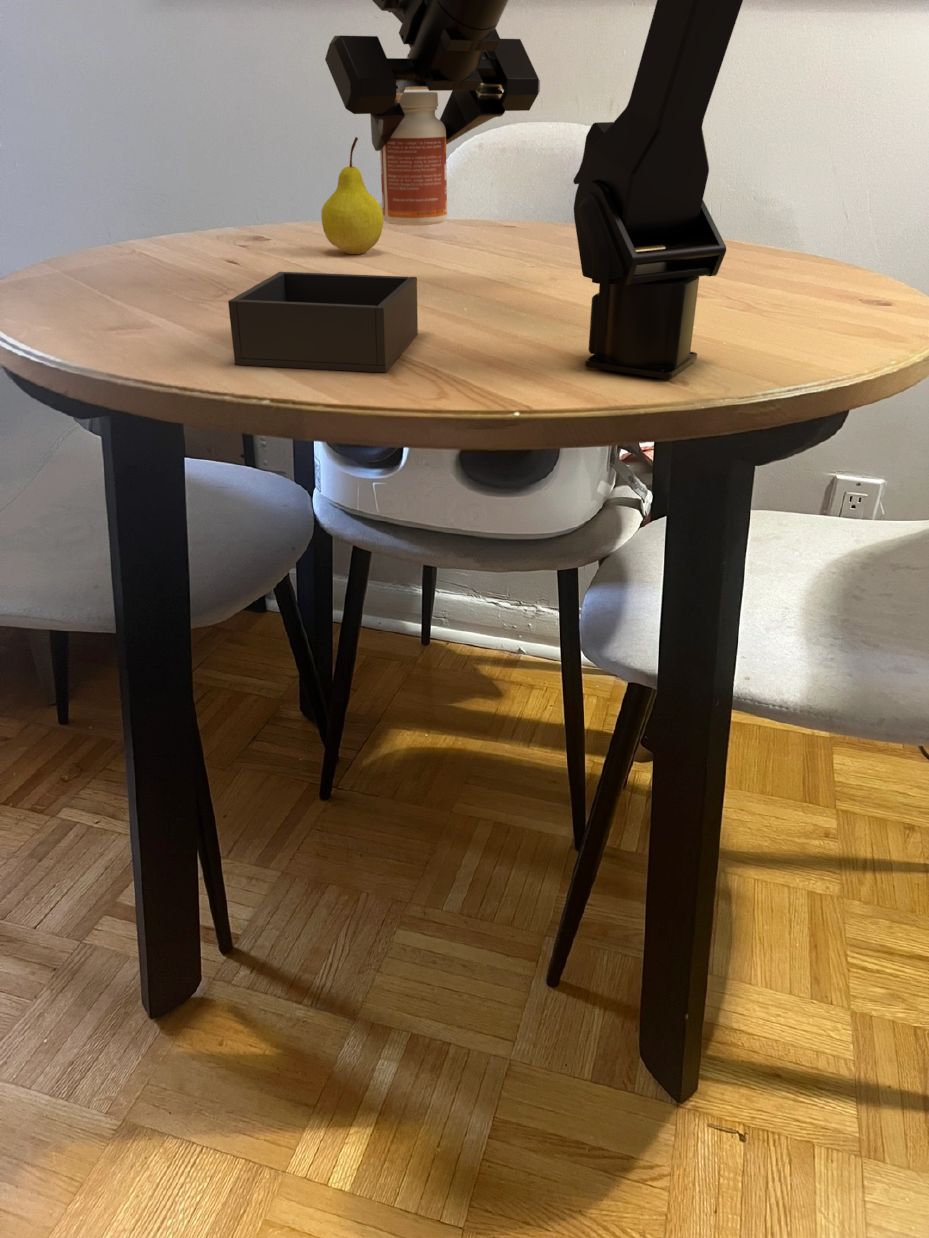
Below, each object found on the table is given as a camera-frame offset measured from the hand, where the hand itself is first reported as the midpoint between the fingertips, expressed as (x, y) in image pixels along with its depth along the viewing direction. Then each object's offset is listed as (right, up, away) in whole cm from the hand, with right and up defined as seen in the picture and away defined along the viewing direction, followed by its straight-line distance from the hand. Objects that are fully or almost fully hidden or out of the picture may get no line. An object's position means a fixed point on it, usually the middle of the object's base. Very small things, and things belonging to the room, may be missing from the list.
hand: (406, 146), depth 93 cm
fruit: (-7, -3, +20) cm, 21 cm away
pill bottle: (+1, -7, +2) cm, 7 cm away
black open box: (-5, -24, -17) cm, 30 cm away
